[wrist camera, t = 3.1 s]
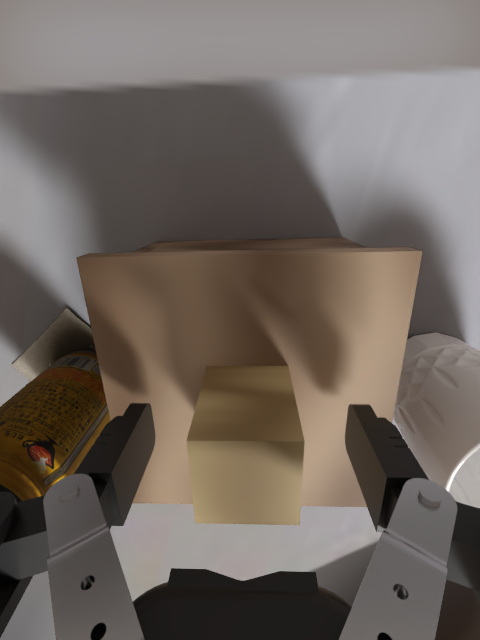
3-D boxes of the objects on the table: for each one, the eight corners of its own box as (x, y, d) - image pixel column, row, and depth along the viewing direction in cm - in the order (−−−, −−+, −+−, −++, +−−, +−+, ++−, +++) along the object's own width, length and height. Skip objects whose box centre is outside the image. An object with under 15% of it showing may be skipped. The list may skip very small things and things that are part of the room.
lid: (139, 475, 18) (86, 604, 13) (98, 250, 14) (-18, 288, 8) (365, 478, 18) (420, 615, 12) (401, 244, 13) (520, 280, 7)
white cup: (356, 347, 23) (427, 450, 14) (469, 307, 21) (635, 389, 12) (385, 429, 25) (461, 562, 16) (488, 397, 24) (638, 523, 15)
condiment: (97, 431, 27) (-16, 600, 15) (13, 364, 25) (-188, 502, 13) (155, 383, 25) (74, 536, 14) (69, 305, 23) (-111, 410, 11)
